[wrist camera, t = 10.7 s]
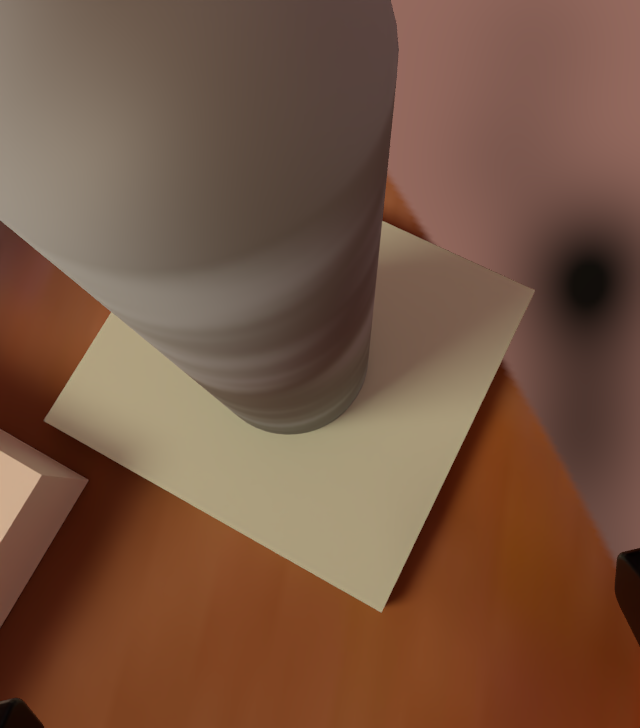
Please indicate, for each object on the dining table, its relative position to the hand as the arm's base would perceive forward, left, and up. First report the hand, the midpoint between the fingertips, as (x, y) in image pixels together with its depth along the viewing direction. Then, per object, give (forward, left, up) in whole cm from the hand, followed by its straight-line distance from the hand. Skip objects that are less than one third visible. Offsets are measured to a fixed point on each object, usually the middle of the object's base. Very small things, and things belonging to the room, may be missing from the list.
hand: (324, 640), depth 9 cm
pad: (+5, +4, -10) cm, 12 cm away
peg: (+5, +4, -9) cm, 11 cm away
